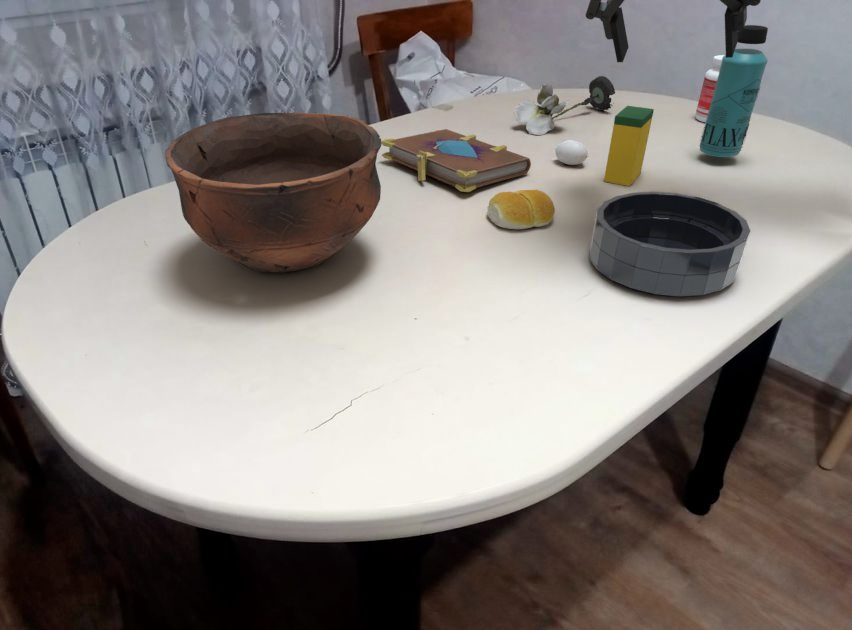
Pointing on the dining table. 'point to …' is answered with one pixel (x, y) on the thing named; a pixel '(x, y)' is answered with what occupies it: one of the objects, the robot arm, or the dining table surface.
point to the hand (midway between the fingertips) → (675, 52)
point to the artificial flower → (560, 105)
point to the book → (456, 159)
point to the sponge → (628, 145)
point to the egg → (571, 152)
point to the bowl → (277, 186)
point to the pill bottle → (708, 89)
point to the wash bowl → (668, 243)
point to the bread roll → (521, 209)
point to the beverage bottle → (735, 96)
